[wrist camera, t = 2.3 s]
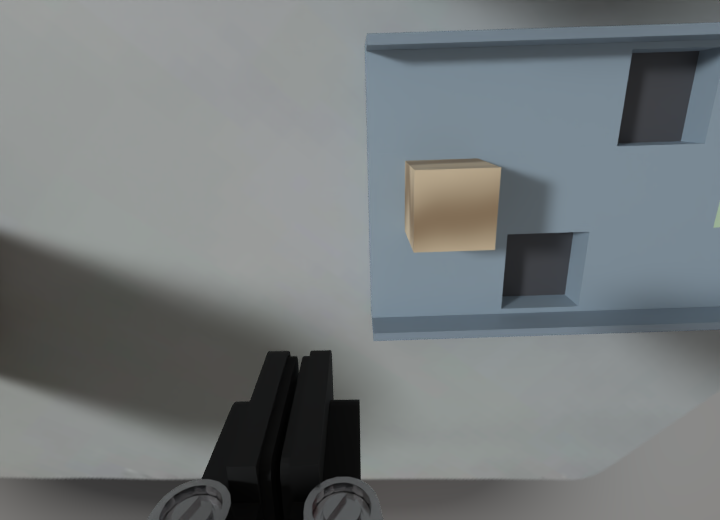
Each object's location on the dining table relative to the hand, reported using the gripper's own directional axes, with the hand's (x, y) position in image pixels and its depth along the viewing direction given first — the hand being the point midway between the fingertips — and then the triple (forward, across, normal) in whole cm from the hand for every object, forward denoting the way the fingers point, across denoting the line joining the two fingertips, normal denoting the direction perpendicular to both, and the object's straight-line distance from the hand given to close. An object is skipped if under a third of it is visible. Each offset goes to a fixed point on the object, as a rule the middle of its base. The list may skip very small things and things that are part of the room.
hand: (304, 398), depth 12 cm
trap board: (+23, -18, -2) cm, 29 cm away
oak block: (+20, -7, -2) cm, 22 cm away
